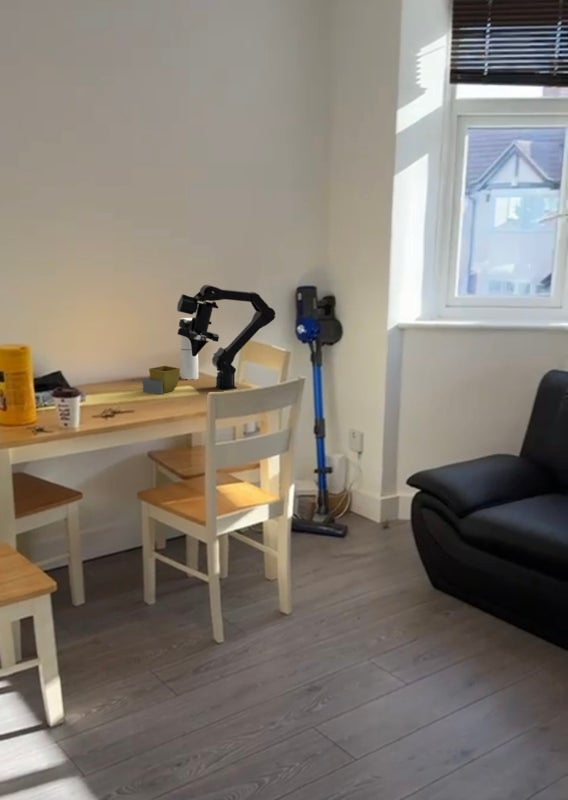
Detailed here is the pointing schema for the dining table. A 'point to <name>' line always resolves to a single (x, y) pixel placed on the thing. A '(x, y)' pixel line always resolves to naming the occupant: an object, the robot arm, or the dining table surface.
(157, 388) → the V-block
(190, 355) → the cylindrical container
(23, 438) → the dining table surface
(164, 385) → the flower pot
